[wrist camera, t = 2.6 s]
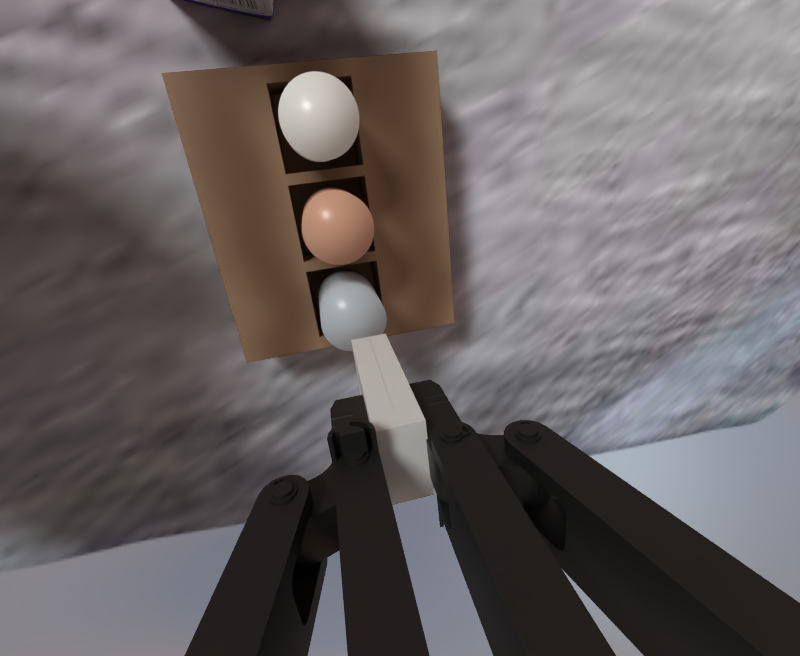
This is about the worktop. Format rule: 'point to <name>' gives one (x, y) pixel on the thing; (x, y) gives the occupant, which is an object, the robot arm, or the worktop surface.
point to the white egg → (318, 116)
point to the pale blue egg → (349, 308)
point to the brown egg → (337, 226)
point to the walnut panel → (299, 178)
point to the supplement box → (242, 6)
